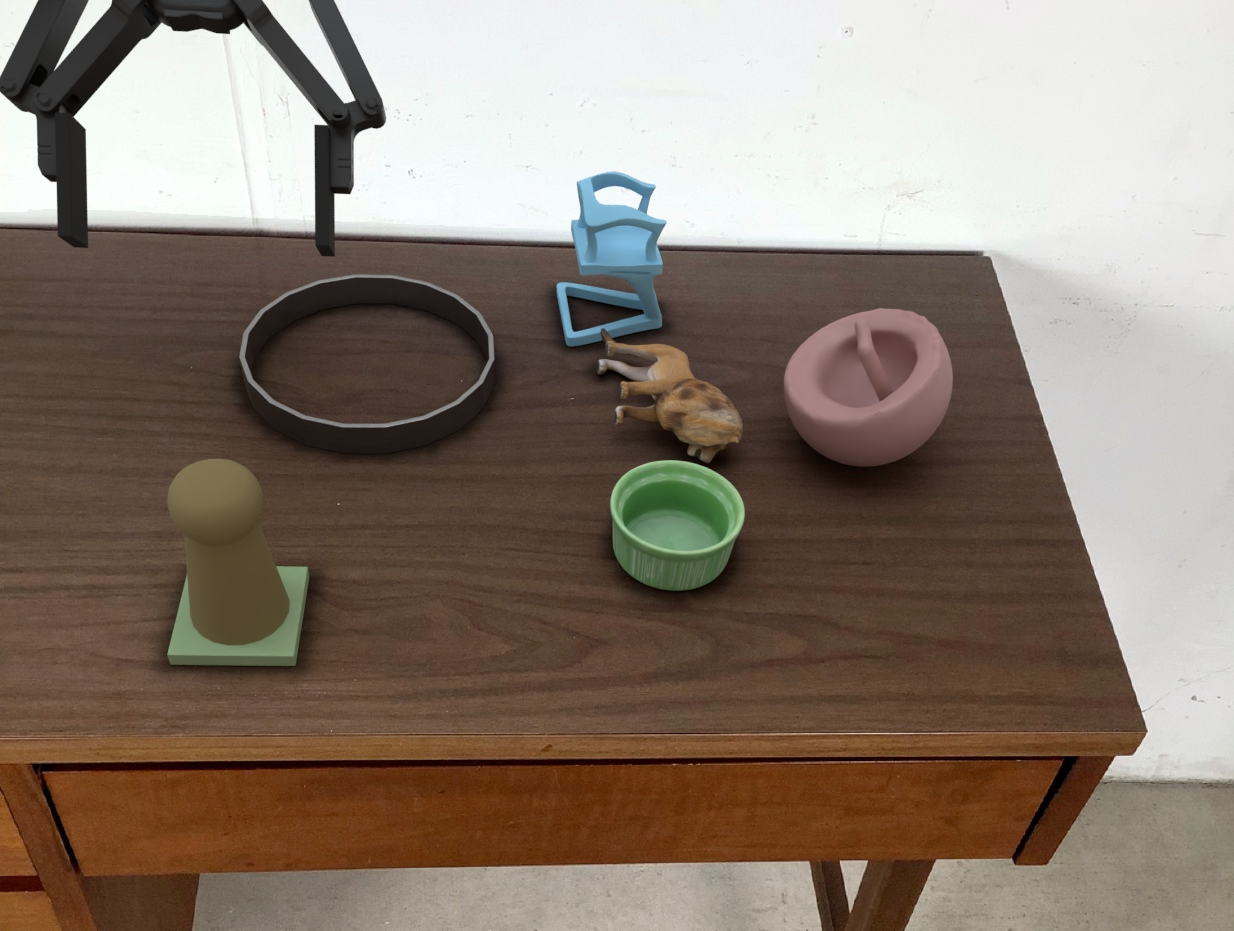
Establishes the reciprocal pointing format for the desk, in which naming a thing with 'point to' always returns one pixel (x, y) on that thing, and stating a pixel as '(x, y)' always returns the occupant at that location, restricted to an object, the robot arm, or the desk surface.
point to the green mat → (266, 652)
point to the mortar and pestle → (869, 386)
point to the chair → (614, 257)
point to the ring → (367, 435)
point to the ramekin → (674, 524)
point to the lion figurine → (674, 397)
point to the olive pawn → (227, 553)
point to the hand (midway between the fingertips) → (200, 247)
